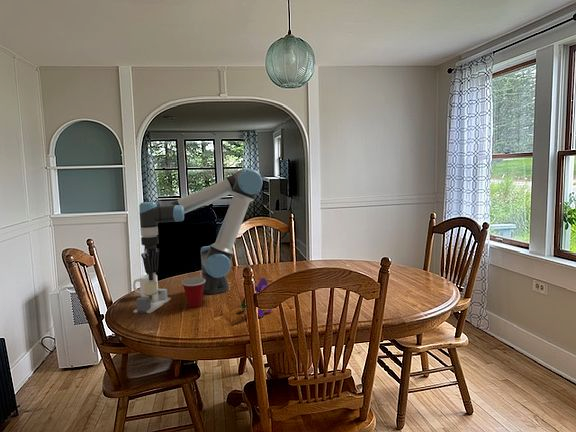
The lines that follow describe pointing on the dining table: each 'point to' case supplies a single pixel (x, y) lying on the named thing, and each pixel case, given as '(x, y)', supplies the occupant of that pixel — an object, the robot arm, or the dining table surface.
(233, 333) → the dining table surface
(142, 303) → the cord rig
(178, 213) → the robot arm
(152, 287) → the sleeve
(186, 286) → the plastic cup
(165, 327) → the dining table surface
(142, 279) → the cup
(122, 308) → the dining table surface
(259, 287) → the flower
